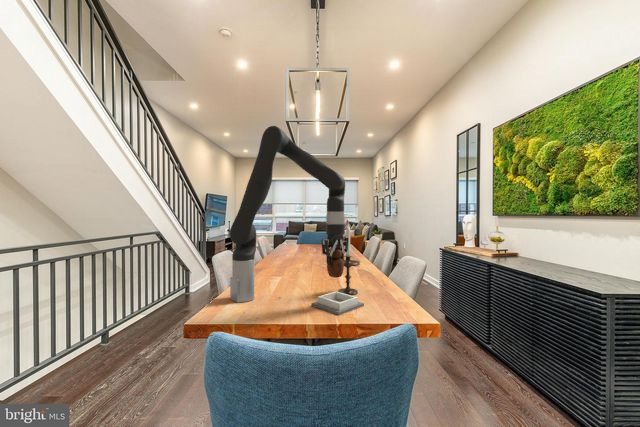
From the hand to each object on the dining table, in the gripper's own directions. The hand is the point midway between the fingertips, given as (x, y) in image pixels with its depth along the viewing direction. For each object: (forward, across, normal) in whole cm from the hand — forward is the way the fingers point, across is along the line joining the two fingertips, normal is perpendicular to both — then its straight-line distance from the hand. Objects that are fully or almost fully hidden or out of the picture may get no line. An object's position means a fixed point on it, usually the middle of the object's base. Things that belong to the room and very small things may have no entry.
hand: (335, 263), depth 117 cm
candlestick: (+17, -17, -8) cm, 25 cm away
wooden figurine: (+5, 0, 0) cm, 5 cm away
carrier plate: (+17, 0, +1) cm, 17 cm away
